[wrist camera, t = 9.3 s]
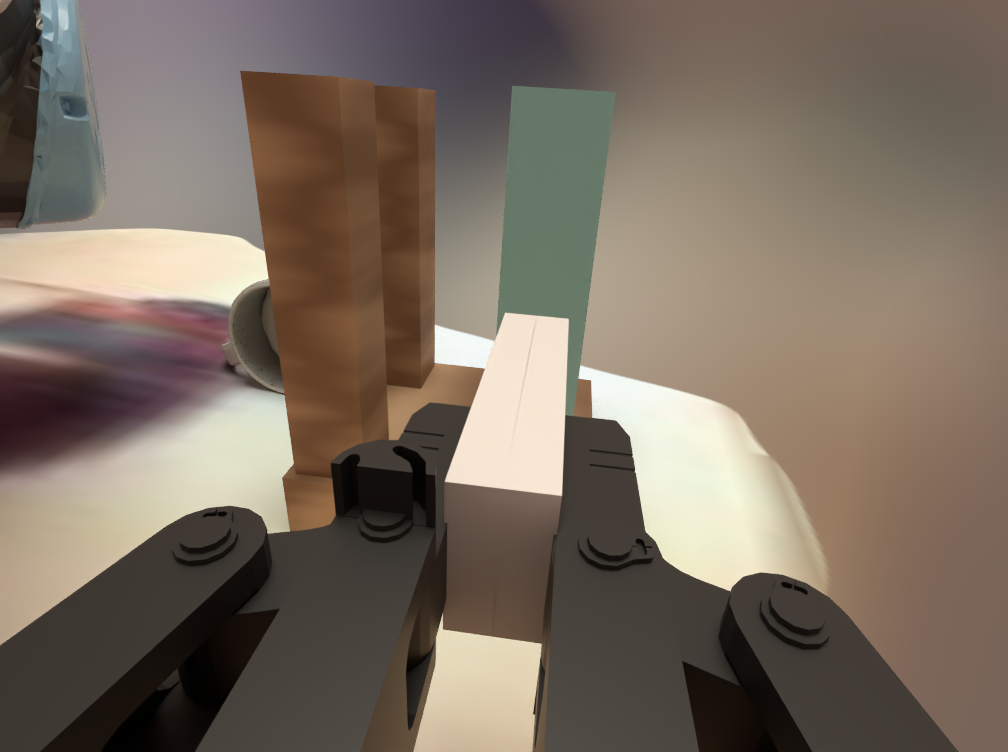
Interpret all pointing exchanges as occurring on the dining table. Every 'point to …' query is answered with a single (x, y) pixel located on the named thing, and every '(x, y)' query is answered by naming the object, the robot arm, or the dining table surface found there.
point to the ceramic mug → (255, 336)
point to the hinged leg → (554, 208)
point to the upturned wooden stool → (350, 268)
